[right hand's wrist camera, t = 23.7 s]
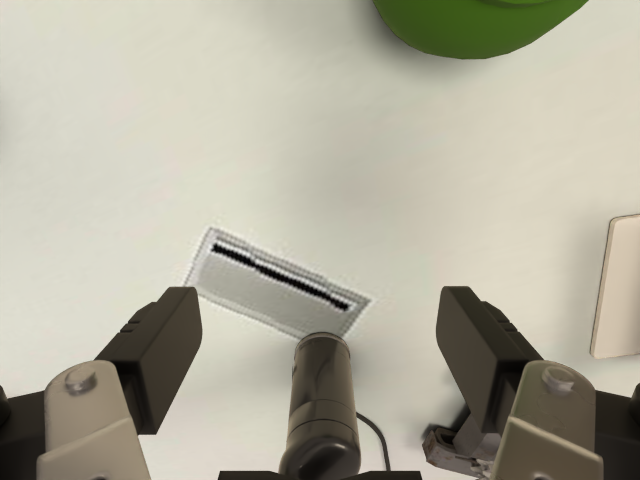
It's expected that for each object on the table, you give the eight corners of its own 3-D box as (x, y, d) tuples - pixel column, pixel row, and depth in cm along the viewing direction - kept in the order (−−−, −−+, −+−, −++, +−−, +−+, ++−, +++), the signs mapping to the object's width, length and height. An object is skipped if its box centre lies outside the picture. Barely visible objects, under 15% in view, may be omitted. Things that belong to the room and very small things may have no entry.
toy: (594, 395, 63) (672, 478, 49) (534, 468, 70) (588, 559, 56) (468, 357, 60) (513, 434, 46) (418, 437, 67) (444, 526, 53)
